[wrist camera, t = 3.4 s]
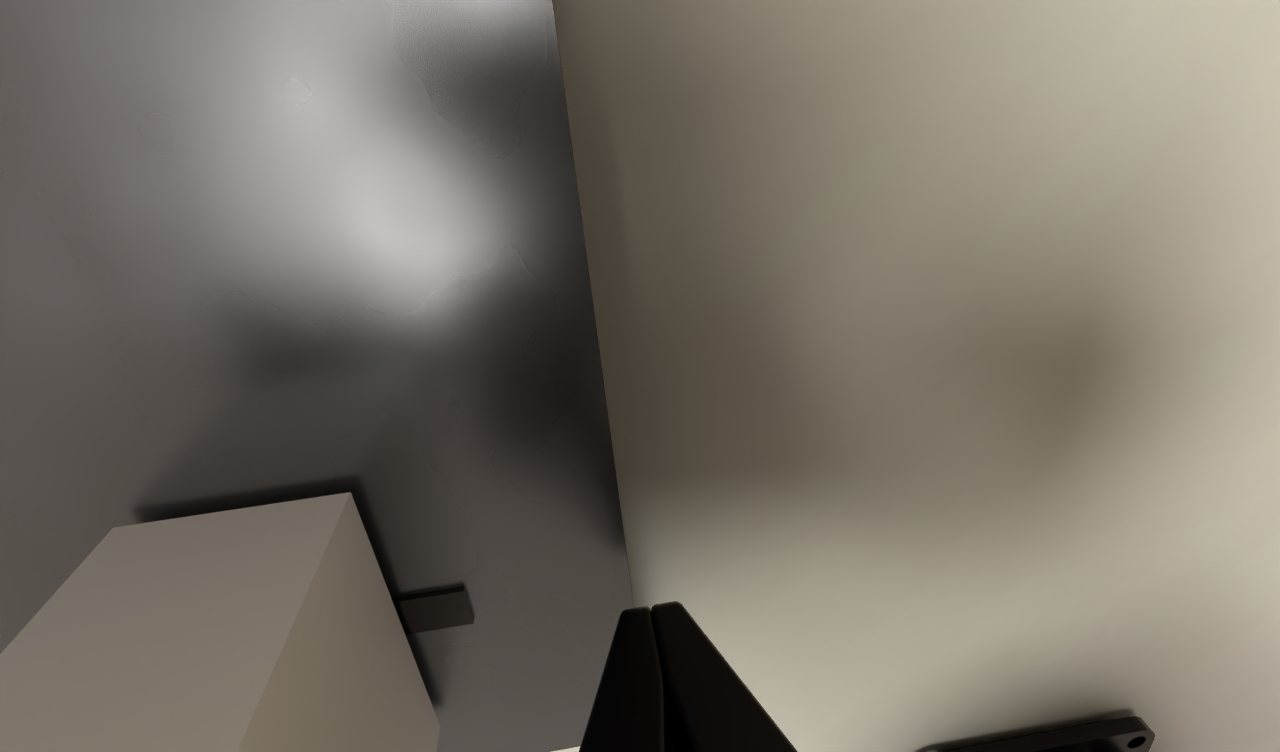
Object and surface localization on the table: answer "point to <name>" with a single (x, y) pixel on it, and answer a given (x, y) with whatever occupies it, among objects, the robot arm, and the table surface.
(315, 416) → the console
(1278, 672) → the table surface
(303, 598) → the fader
